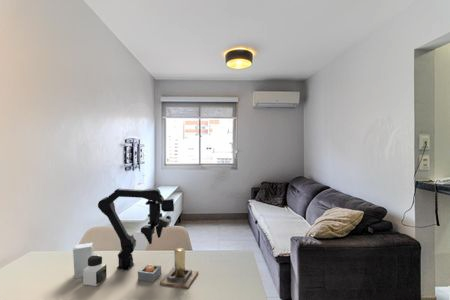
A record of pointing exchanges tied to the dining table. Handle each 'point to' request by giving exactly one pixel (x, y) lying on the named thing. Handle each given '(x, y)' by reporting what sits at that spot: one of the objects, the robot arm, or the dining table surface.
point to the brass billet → (180, 262)
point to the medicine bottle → (94, 271)
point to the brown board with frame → (179, 279)
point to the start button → (150, 268)
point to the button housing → (149, 273)
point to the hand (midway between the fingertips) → (154, 240)
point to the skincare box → (81, 258)
